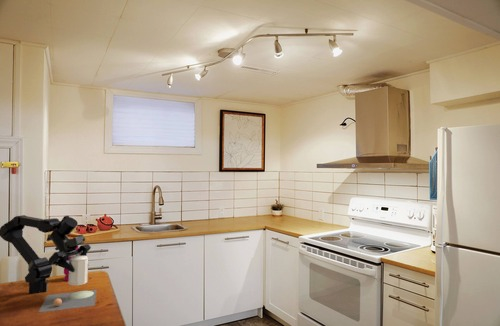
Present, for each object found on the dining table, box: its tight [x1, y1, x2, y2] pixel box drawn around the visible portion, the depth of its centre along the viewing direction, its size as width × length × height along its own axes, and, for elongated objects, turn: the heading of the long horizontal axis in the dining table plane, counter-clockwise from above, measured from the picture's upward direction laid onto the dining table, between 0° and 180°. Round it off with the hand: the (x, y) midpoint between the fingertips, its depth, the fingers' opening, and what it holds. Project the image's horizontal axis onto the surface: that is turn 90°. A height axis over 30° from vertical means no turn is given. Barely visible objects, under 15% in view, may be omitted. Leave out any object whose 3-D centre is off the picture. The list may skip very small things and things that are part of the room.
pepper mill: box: [63, 246, 79, 282], centre depth 177 cm, size 7×7×20 cm
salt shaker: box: [67, 255, 89, 286], centre depth 149 cm, size 7×7×11 cm
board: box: [37, 289, 98, 313], centre depth 146 cm, size 20×20×1 cm
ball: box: [54, 298, 62, 306], centre depth 139 cm, size 3×3×3 cm
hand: (80, 269), depth 149 cm, fingers closed on salt shaker, 7 cm apart
